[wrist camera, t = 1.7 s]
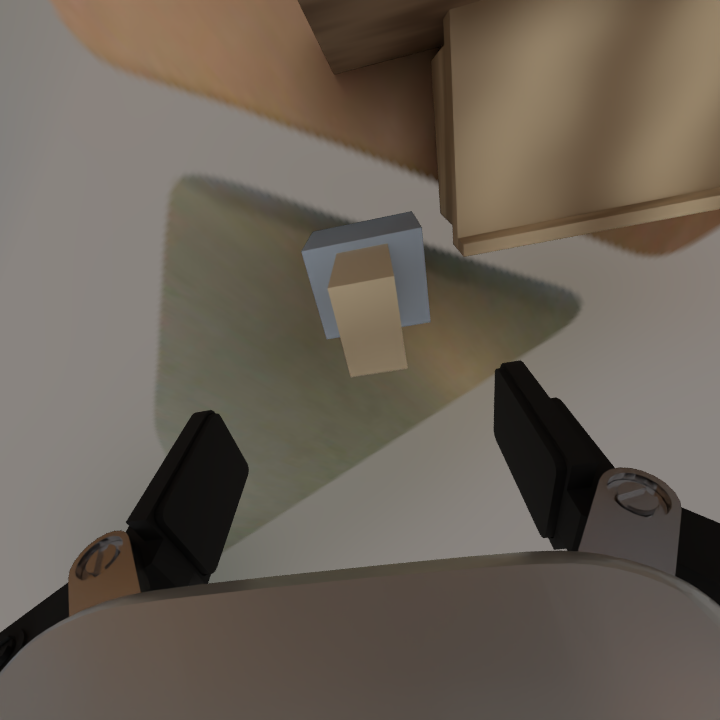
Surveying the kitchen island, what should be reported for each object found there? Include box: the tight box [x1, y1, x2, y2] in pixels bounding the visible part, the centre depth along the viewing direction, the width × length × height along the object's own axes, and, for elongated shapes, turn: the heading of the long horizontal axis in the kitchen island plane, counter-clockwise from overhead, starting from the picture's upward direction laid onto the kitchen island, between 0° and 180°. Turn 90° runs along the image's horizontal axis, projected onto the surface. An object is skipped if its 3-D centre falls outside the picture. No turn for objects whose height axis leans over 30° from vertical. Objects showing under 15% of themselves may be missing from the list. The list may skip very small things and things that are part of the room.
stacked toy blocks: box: [301, 211, 430, 377], centre depth 21 cm, size 7×6×10 cm
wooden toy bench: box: [298, 0, 720, 257], centre depth 13 cm, size 24×13×13 cm, turn 101°
